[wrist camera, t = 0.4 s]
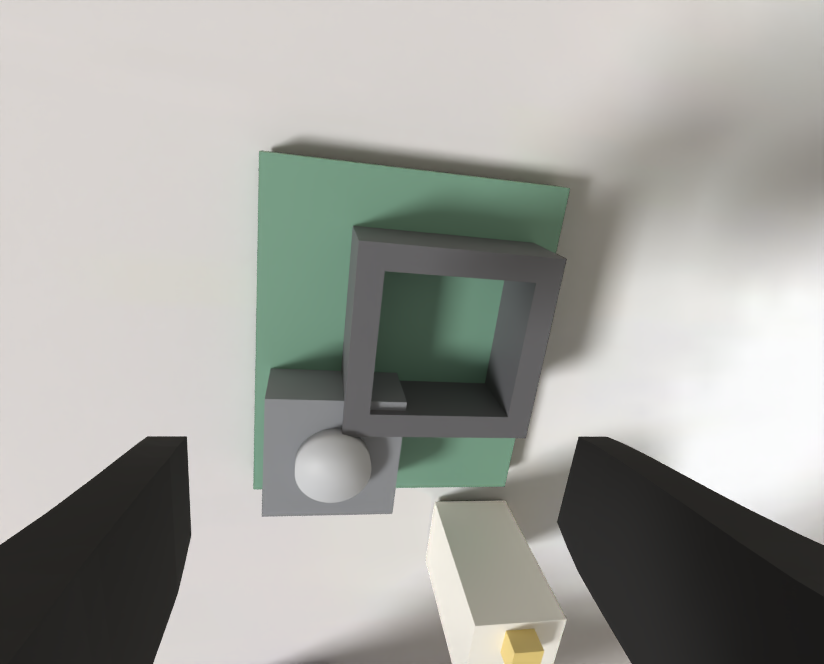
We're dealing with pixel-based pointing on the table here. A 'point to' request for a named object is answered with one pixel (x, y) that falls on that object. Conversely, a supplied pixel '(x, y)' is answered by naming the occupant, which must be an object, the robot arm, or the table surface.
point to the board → (395, 329)
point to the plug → (490, 587)
